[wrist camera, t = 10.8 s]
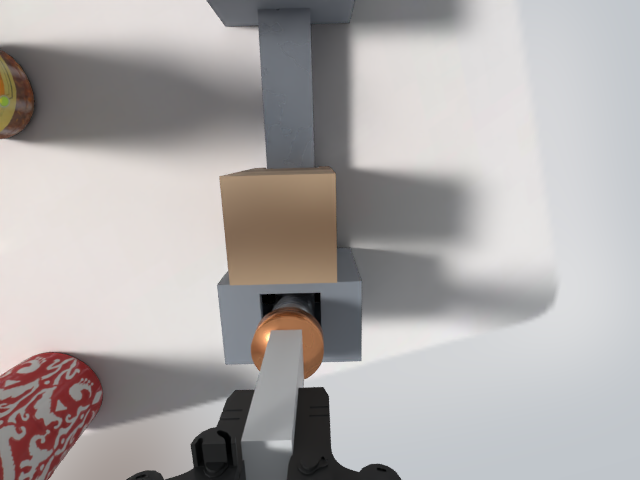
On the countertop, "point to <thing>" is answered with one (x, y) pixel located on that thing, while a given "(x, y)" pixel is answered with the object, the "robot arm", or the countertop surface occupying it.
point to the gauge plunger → (292, 315)
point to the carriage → (280, 225)
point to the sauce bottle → (14, 97)
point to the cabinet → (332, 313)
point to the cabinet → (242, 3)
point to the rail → (287, 87)
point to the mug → (44, 413)
